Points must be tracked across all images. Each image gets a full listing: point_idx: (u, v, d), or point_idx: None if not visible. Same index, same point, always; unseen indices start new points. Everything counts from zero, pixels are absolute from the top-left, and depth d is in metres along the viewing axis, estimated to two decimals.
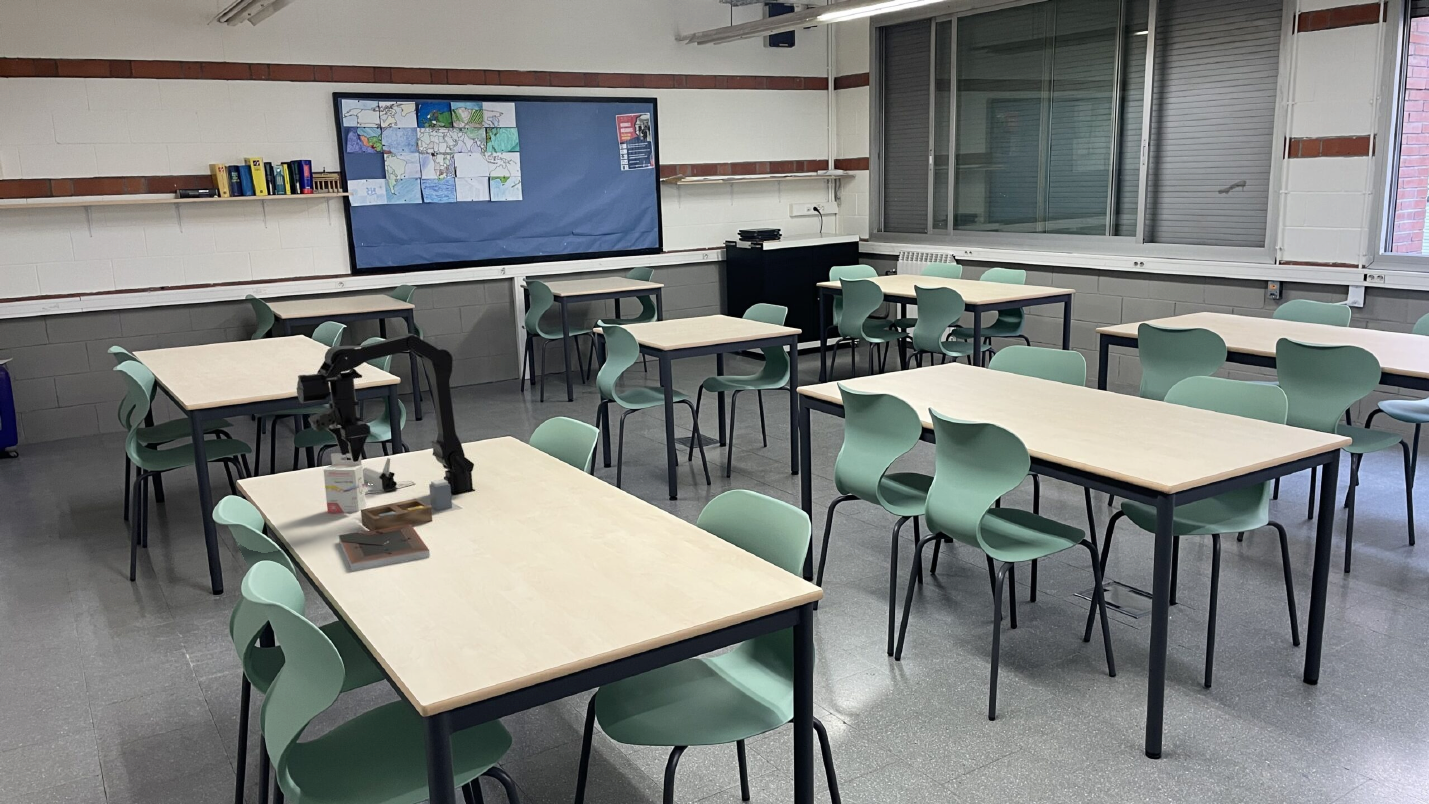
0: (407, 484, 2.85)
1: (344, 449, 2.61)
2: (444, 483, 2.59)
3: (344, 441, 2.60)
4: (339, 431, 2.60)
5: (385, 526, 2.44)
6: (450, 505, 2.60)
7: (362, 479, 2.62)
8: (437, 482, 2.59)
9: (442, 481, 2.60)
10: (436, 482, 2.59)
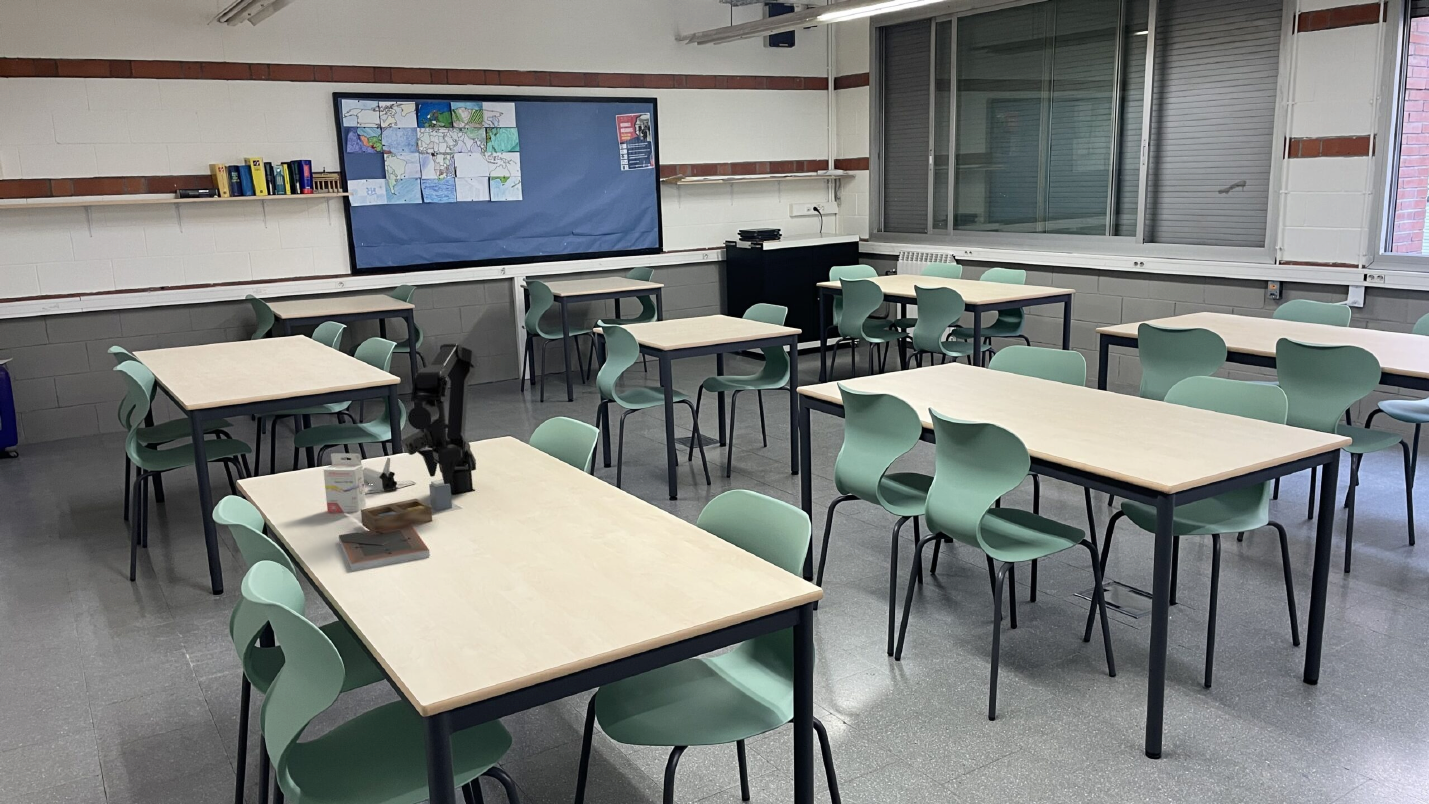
0: (407, 484, 2.85)
1: (433, 471, 2.63)
2: None
3: (433, 463, 2.63)
4: (428, 453, 2.62)
5: (385, 526, 2.44)
6: (450, 505, 2.60)
7: (362, 479, 2.62)
8: (437, 482, 2.59)
9: (442, 481, 2.60)
10: (436, 482, 2.59)
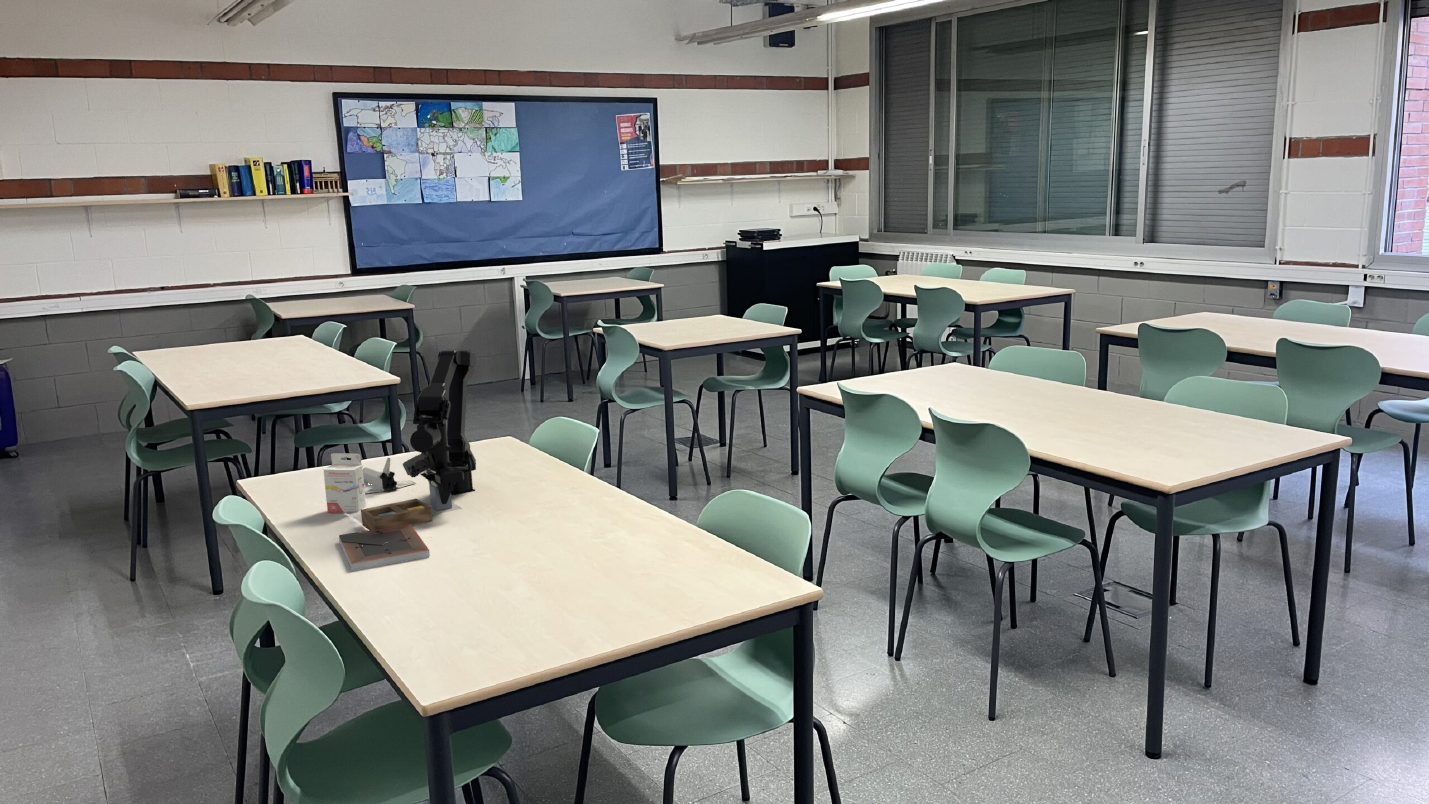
0: (407, 484, 2.85)
1: None
2: None
3: None
4: (433, 477, 2.62)
5: (385, 526, 2.44)
6: (450, 505, 2.60)
7: (362, 479, 2.62)
8: None
9: None
10: None
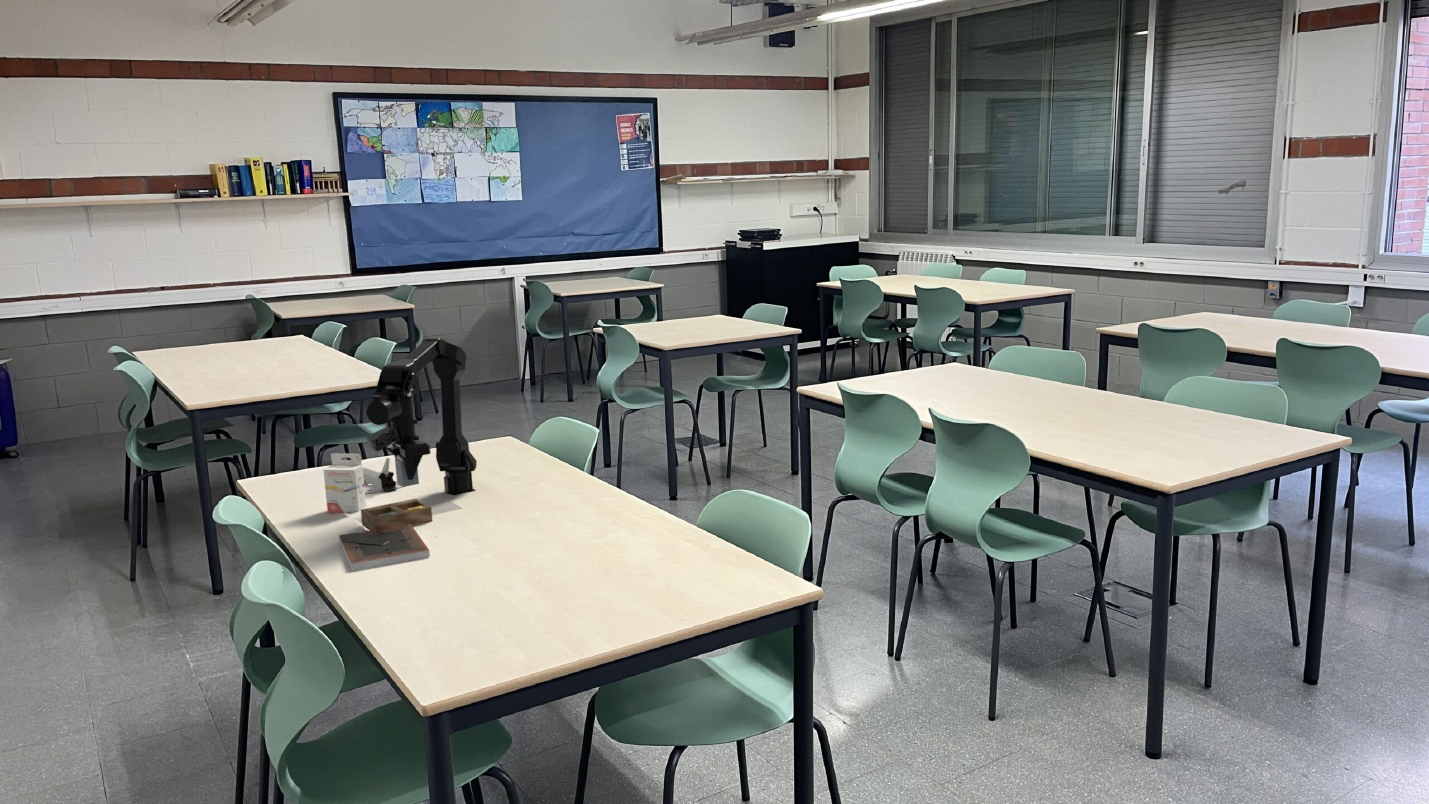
0: None
1: None
2: None
3: None
4: (399, 452, 2.51)
5: (385, 526, 2.44)
6: (417, 481, 2.50)
7: (362, 479, 2.62)
8: None
9: None
10: None
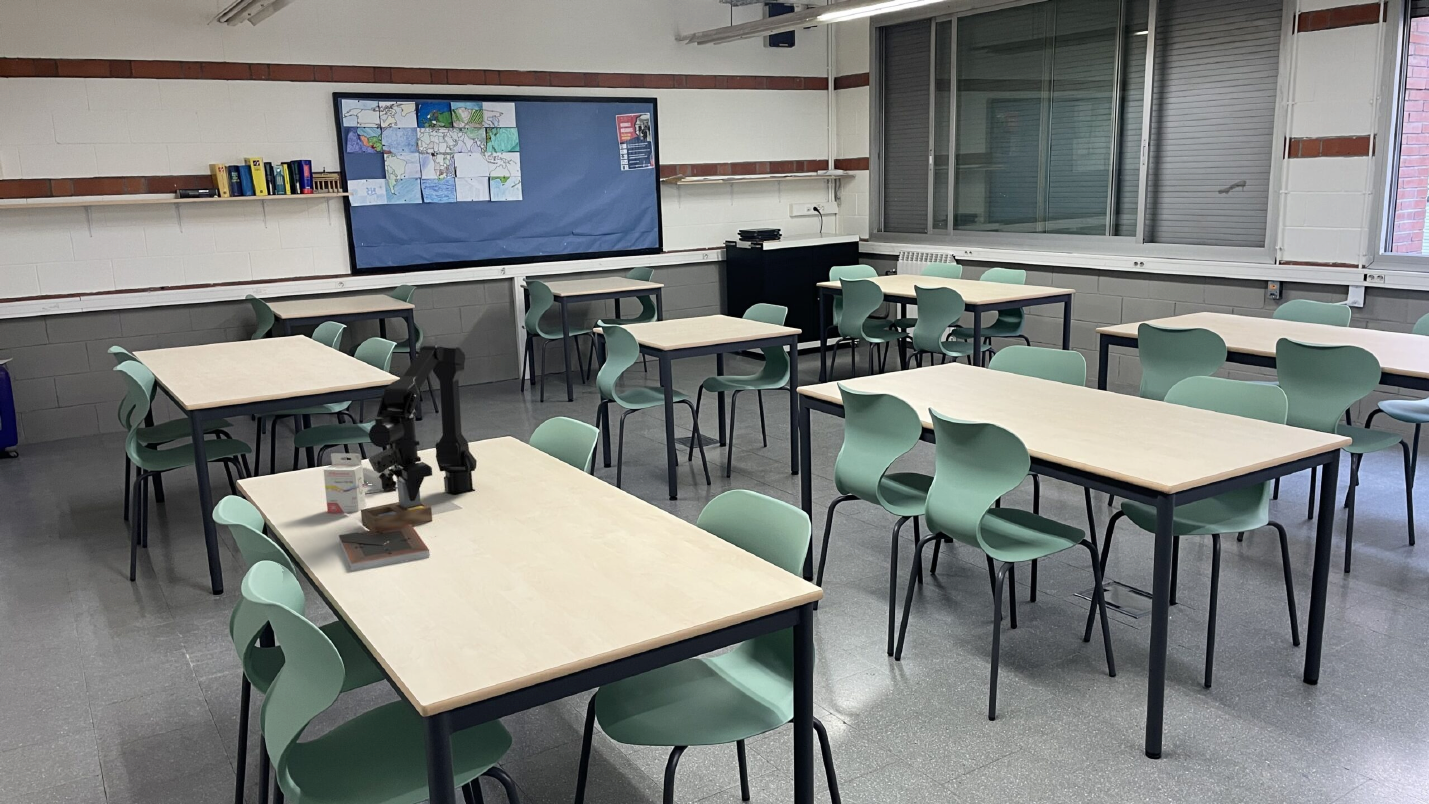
0: None
1: None
2: None
3: None
4: (401, 473, 2.52)
5: (385, 526, 2.44)
6: (419, 502, 2.51)
7: (362, 479, 2.62)
8: None
9: None
10: None
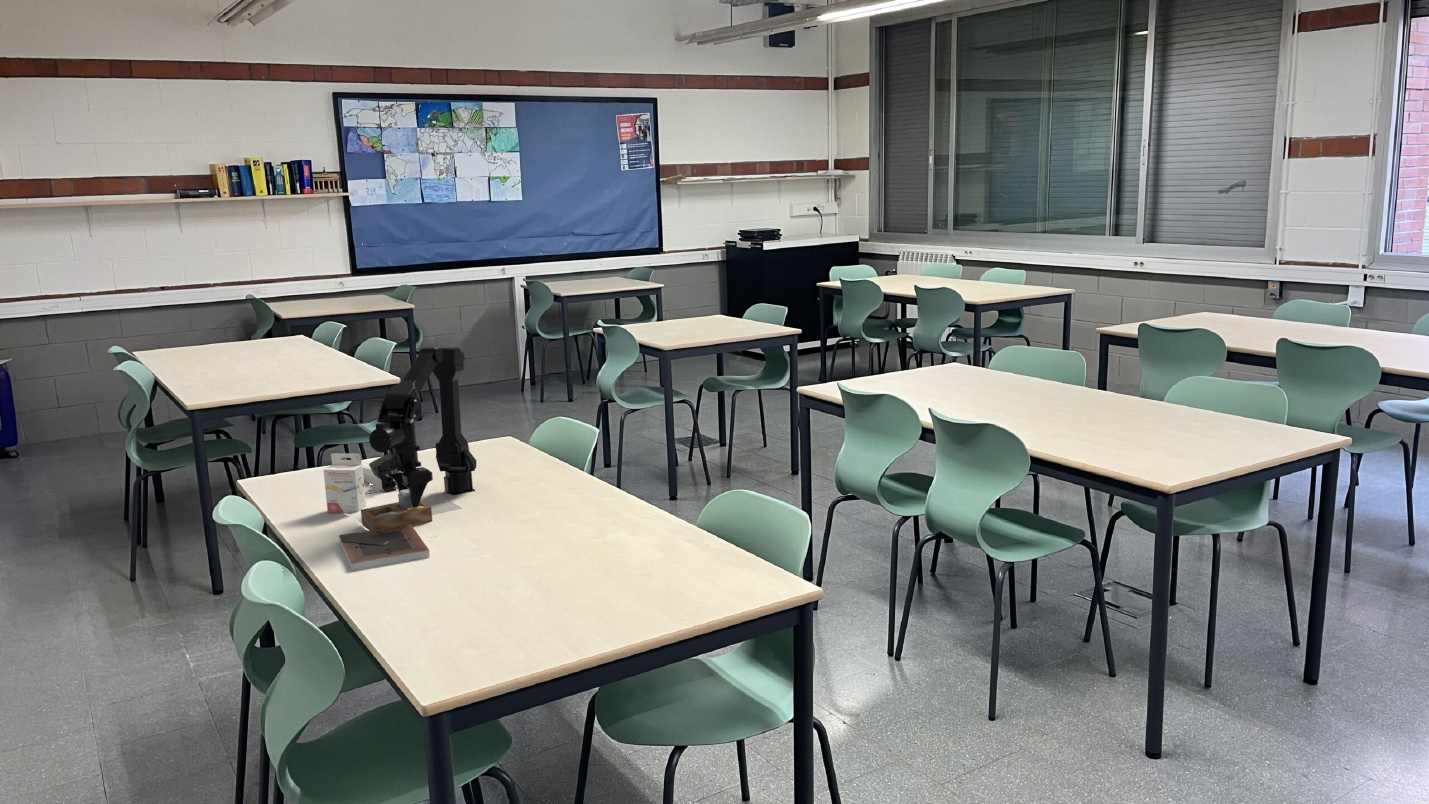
0: None
1: None
2: None
3: (404, 486, 2.54)
4: (399, 476, 2.54)
5: (385, 526, 2.44)
6: None
7: (362, 479, 2.62)
8: (406, 491, 2.50)
9: None
10: (405, 491, 2.50)
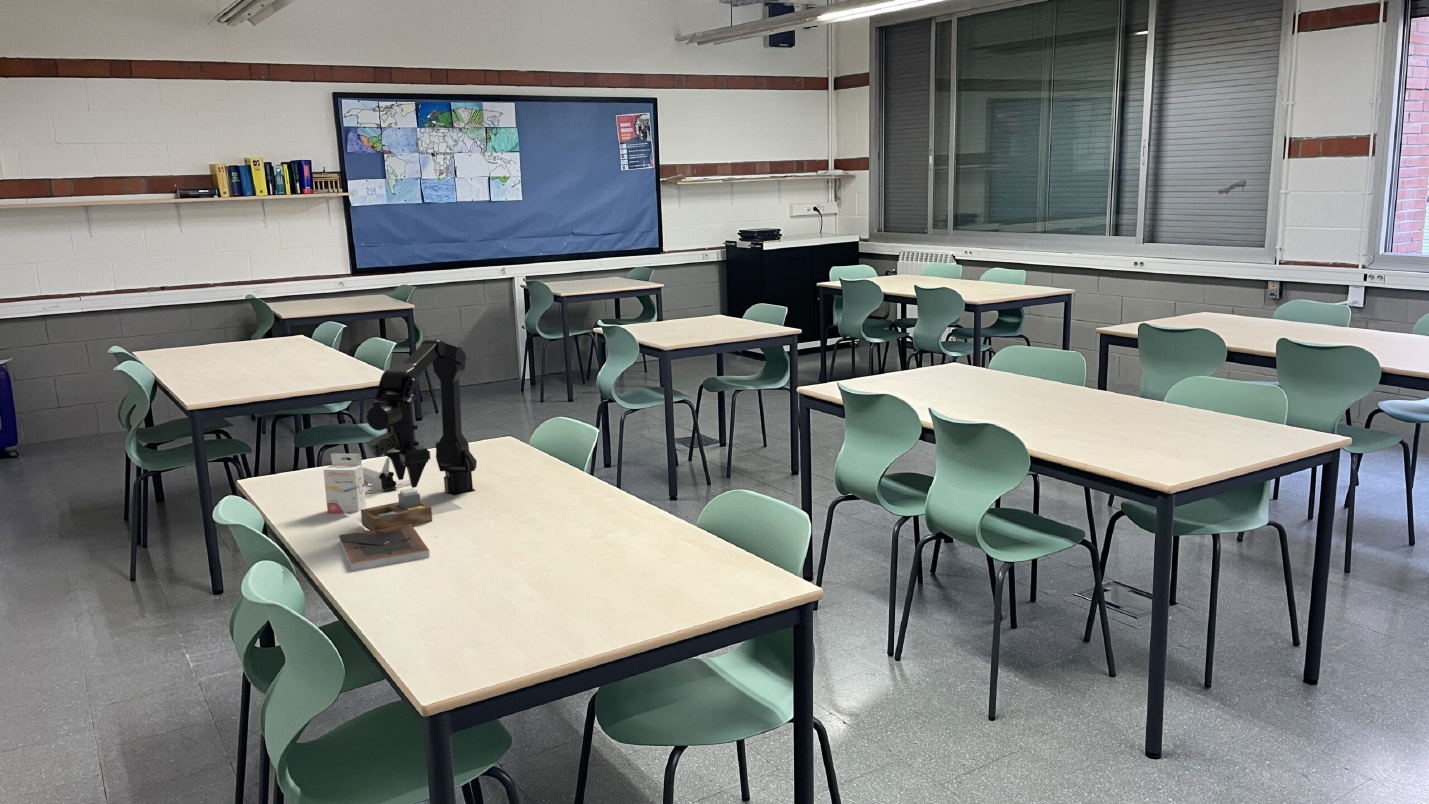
0: (406, 484, 2.85)
1: (401, 474, 2.54)
2: (413, 492, 2.50)
3: (401, 466, 2.54)
4: (396, 455, 2.53)
5: (385, 526, 2.44)
6: None
7: (362, 479, 2.62)
8: (406, 491, 2.50)
9: (411, 490, 2.51)
10: (405, 491, 2.50)
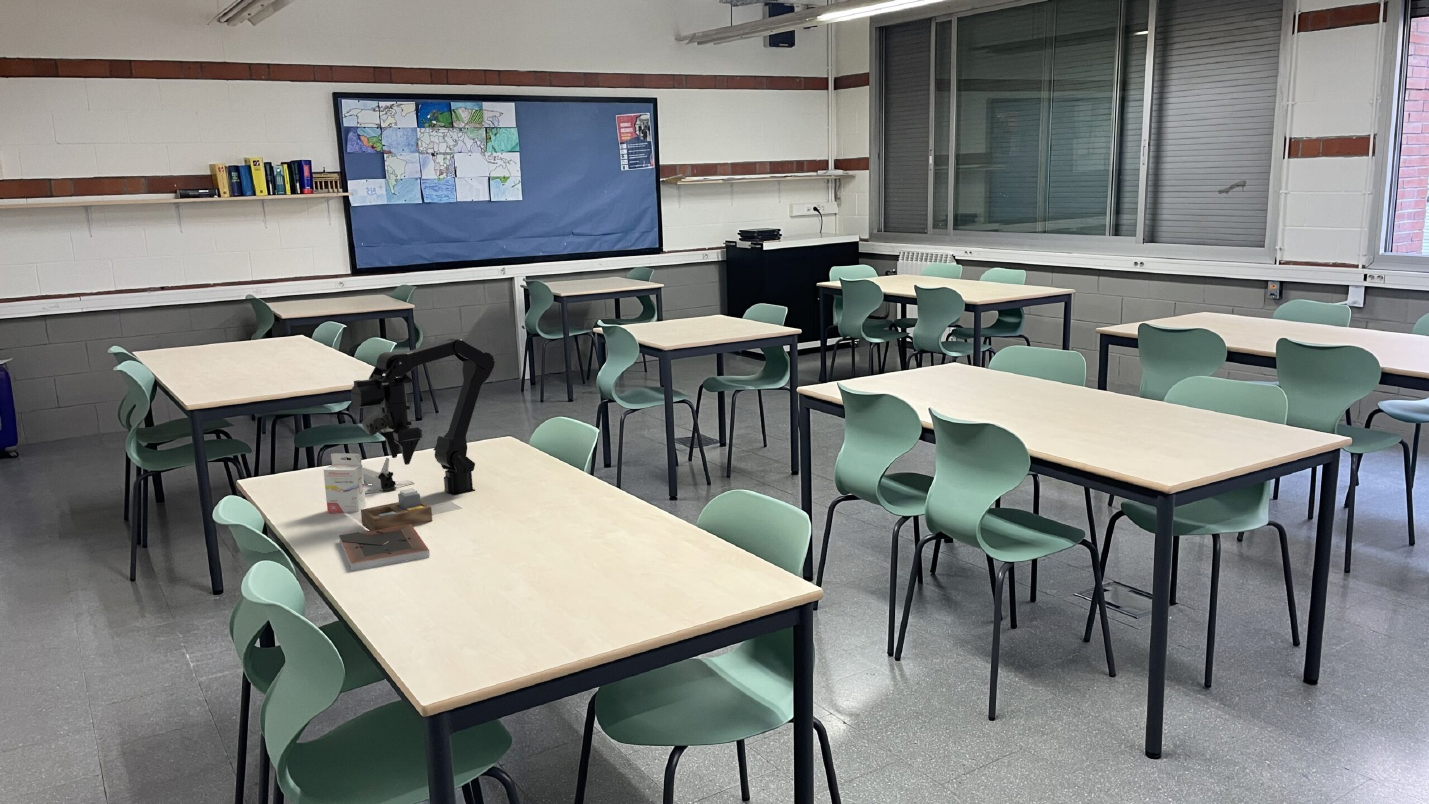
0: (406, 484, 2.85)
1: (394, 452, 2.67)
2: (413, 492, 2.50)
3: (394, 444, 2.67)
4: (390, 435, 2.66)
5: (385, 526, 2.44)
6: None
7: (362, 479, 2.62)
8: (406, 491, 2.50)
9: (411, 490, 2.51)
10: (405, 491, 2.50)
